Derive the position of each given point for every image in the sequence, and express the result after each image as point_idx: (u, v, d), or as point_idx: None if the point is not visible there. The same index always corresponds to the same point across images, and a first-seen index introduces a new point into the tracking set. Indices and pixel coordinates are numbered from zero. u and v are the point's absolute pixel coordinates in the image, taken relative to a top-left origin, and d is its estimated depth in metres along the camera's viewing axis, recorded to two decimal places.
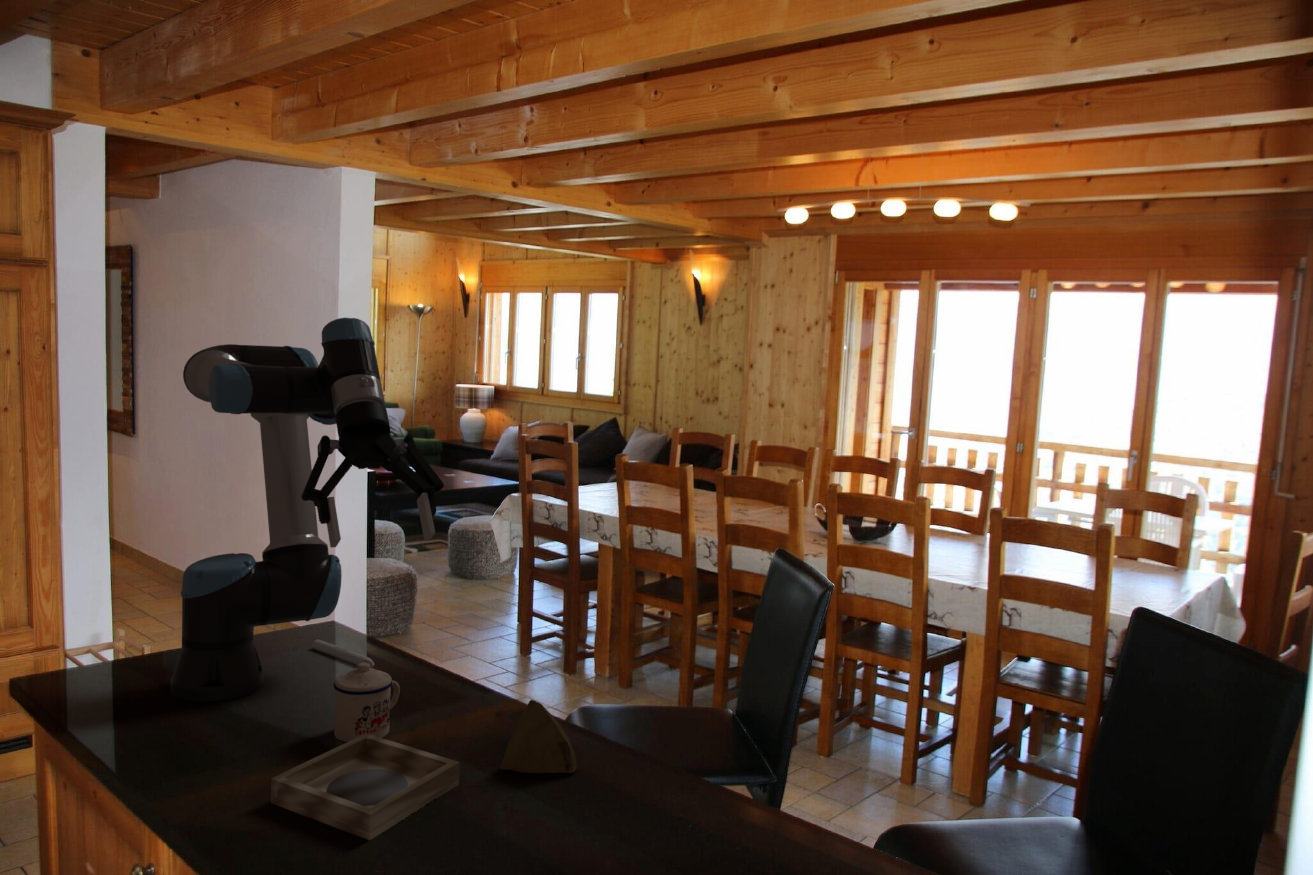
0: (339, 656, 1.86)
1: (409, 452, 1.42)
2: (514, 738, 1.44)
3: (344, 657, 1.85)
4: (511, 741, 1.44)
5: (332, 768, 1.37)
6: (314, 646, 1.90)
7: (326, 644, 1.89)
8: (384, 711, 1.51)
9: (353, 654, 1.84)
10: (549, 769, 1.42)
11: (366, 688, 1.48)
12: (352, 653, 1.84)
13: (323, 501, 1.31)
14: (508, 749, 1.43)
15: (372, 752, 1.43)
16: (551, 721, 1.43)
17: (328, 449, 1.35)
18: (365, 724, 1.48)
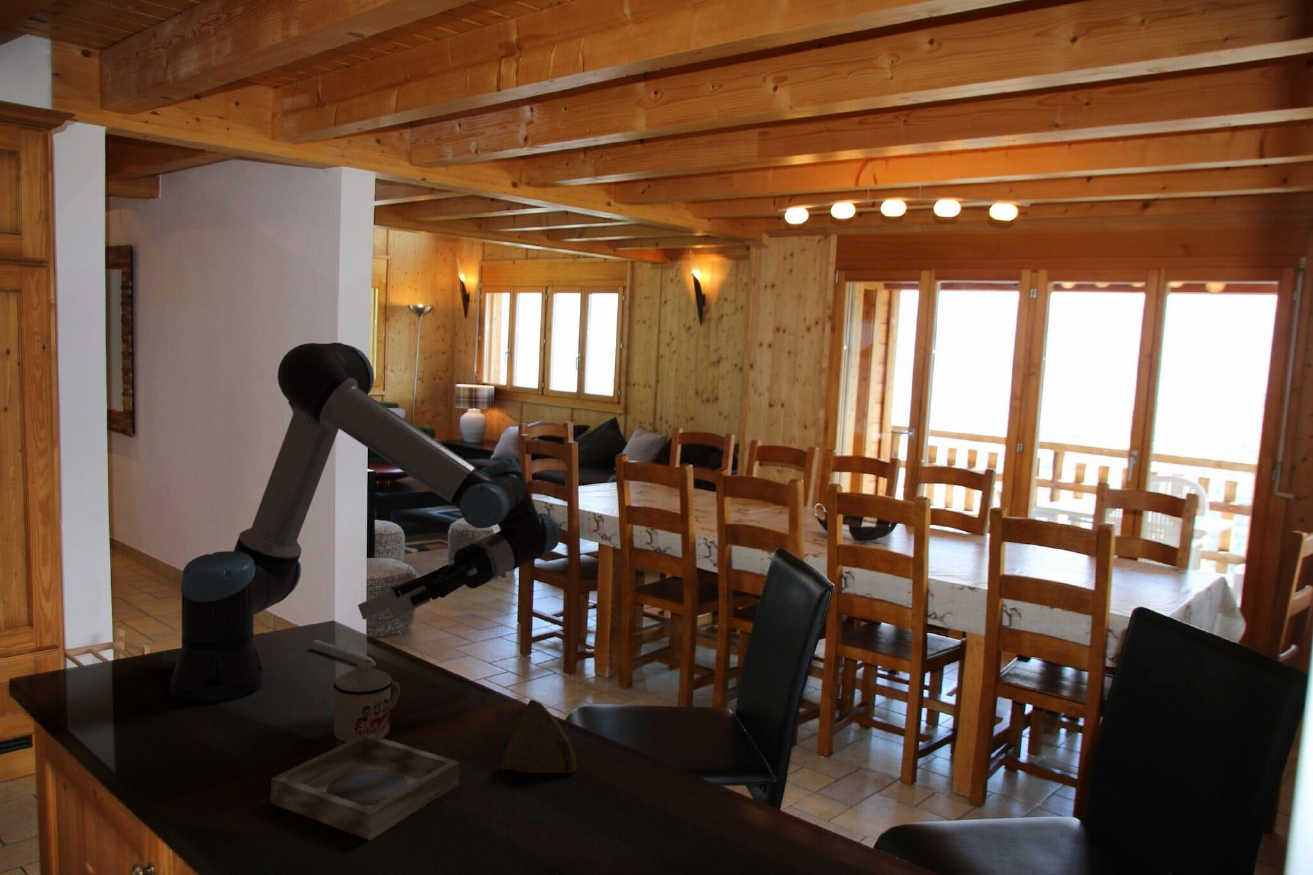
0: (339, 656, 1.86)
1: None
2: (514, 738, 1.44)
3: (344, 657, 1.85)
4: (511, 741, 1.44)
5: (332, 768, 1.37)
6: (313, 646, 1.90)
7: (325, 644, 1.89)
8: (384, 711, 1.51)
9: (354, 654, 1.84)
10: (549, 769, 1.42)
11: (366, 688, 1.48)
12: (352, 653, 1.84)
13: None
14: (508, 749, 1.43)
15: (372, 752, 1.43)
16: (551, 721, 1.43)
17: None
18: (365, 724, 1.48)
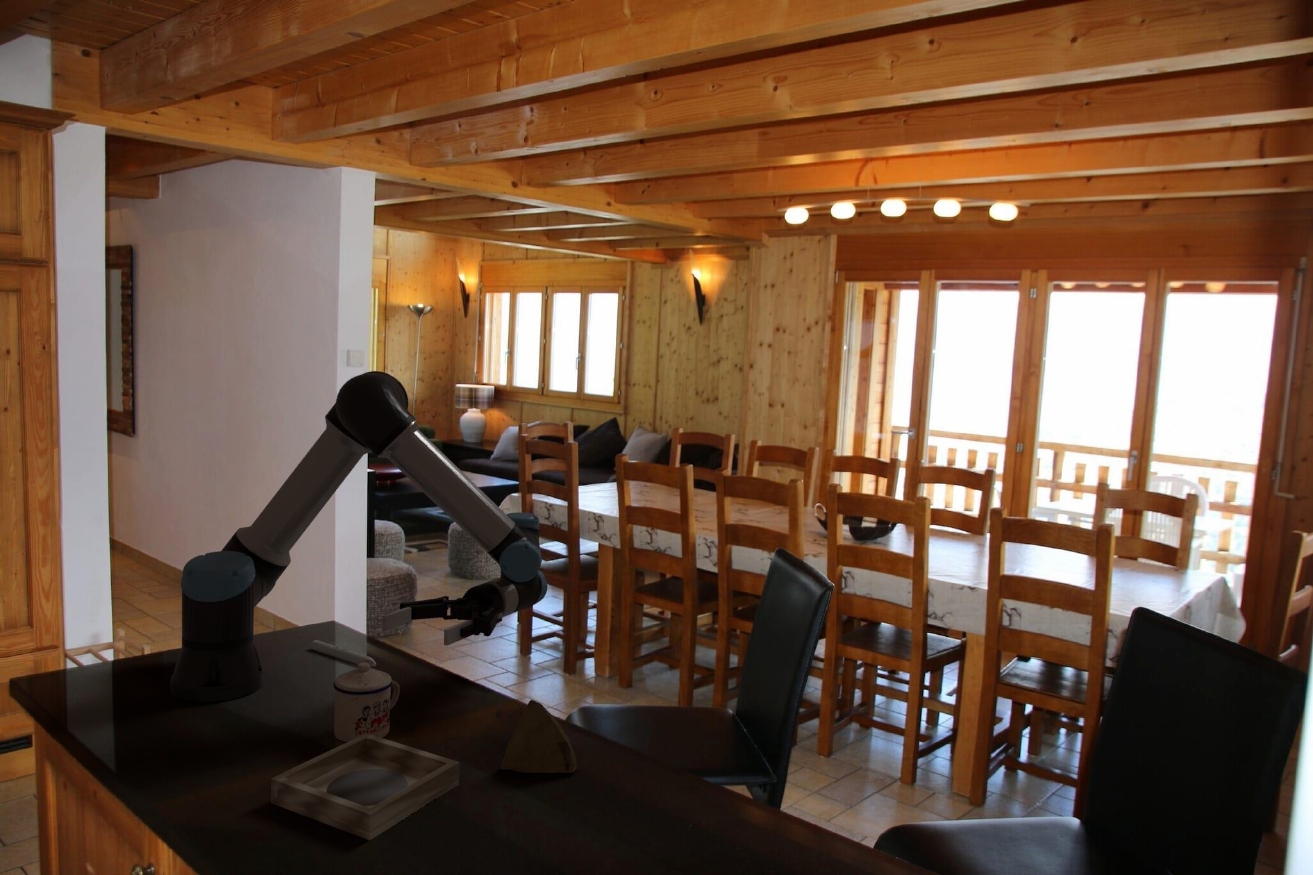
0: (339, 656, 1.86)
1: None
2: (514, 738, 1.44)
3: (344, 657, 1.85)
4: (511, 741, 1.44)
5: (332, 768, 1.37)
6: (312, 647, 1.90)
7: (325, 644, 1.89)
8: (384, 711, 1.51)
9: (354, 654, 1.84)
10: (549, 769, 1.42)
11: (366, 688, 1.48)
12: (353, 653, 1.84)
13: None
14: (508, 749, 1.43)
15: (372, 752, 1.43)
16: (551, 721, 1.43)
17: None
18: (365, 724, 1.48)
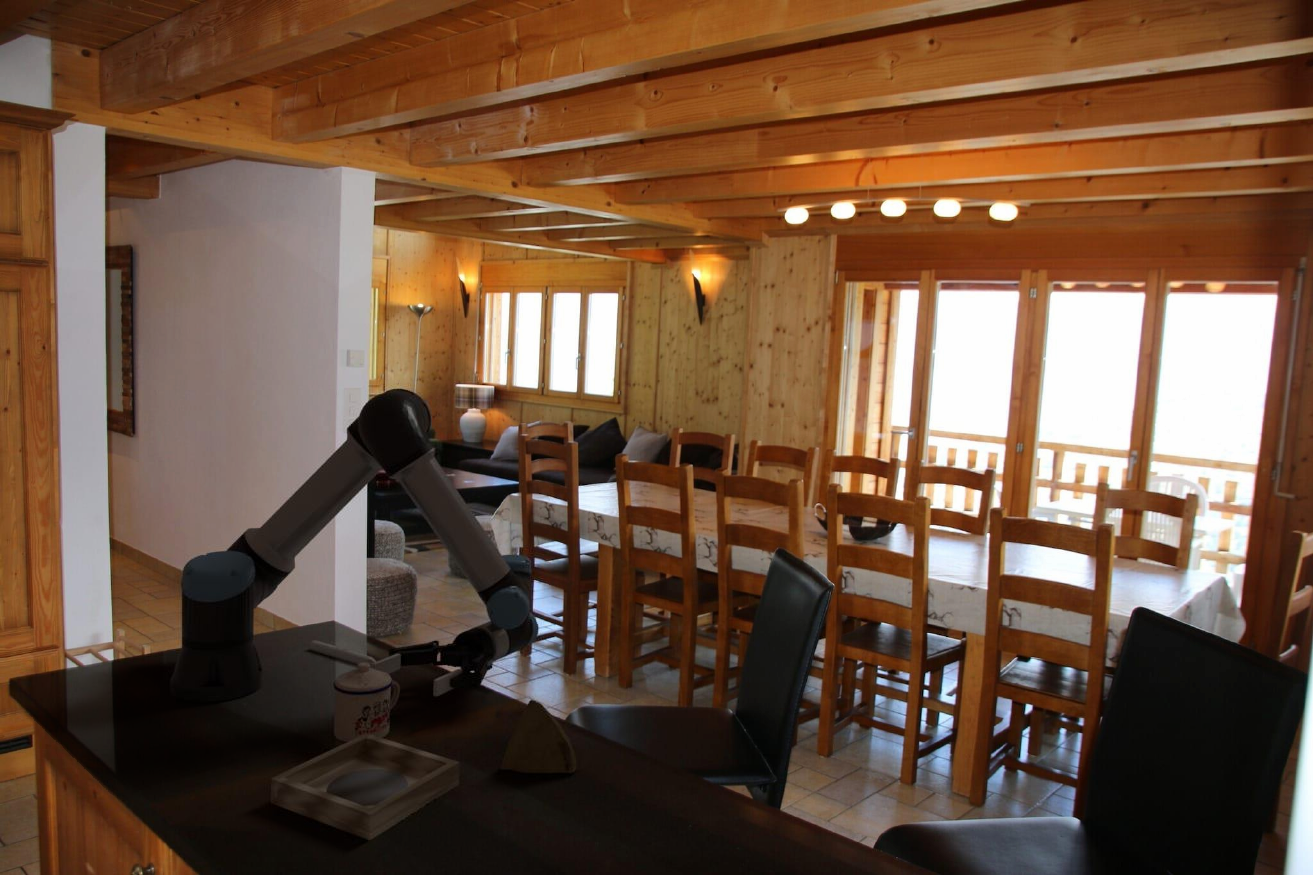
0: (339, 656, 1.86)
1: None
2: (514, 738, 1.44)
3: (345, 657, 1.85)
4: (511, 741, 1.44)
5: (332, 768, 1.37)
6: (311, 647, 1.89)
7: (324, 645, 1.88)
8: (384, 711, 1.51)
9: (354, 654, 1.84)
10: (549, 769, 1.42)
11: (366, 688, 1.48)
12: (353, 653, 1.85)
13: None
14: (508, 749, 1.43)
15: (372, 752, 1.43)
16: (551, 721, 1.43)
17: None
18: (365, 724, 1.48)
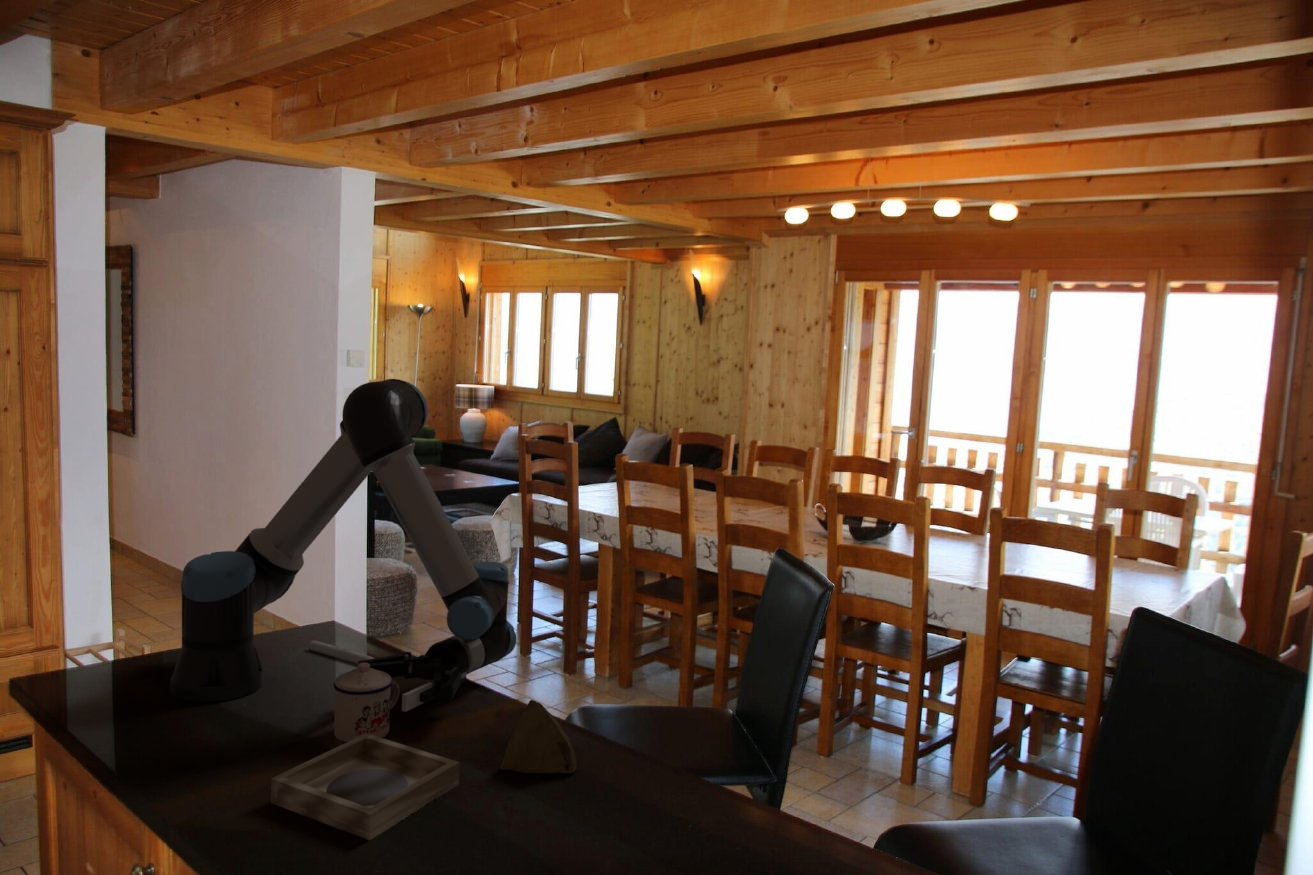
0: (339, 656, 1.86)
1: None
2: (514, 738, 1.44)
3: (345, 657, 1.85)
4: (511, 741, 1.44)
5: (332, 768, 1.37)
6: (311, 647, 1.89)
7: (324, 645, 1.88)
8: (384, 711, 1.51)
9: (354, 654, 1.84)
10: (549, 769, 1.42)
11: (366, 688, 1.48)
12: (353, 653, 1.85)
13: None
14: (508, 749, 1.43)
15: (372, 752, 1.43)
16: (551, 721, 1.43)
17: None
18: (365, 724, 1.48)
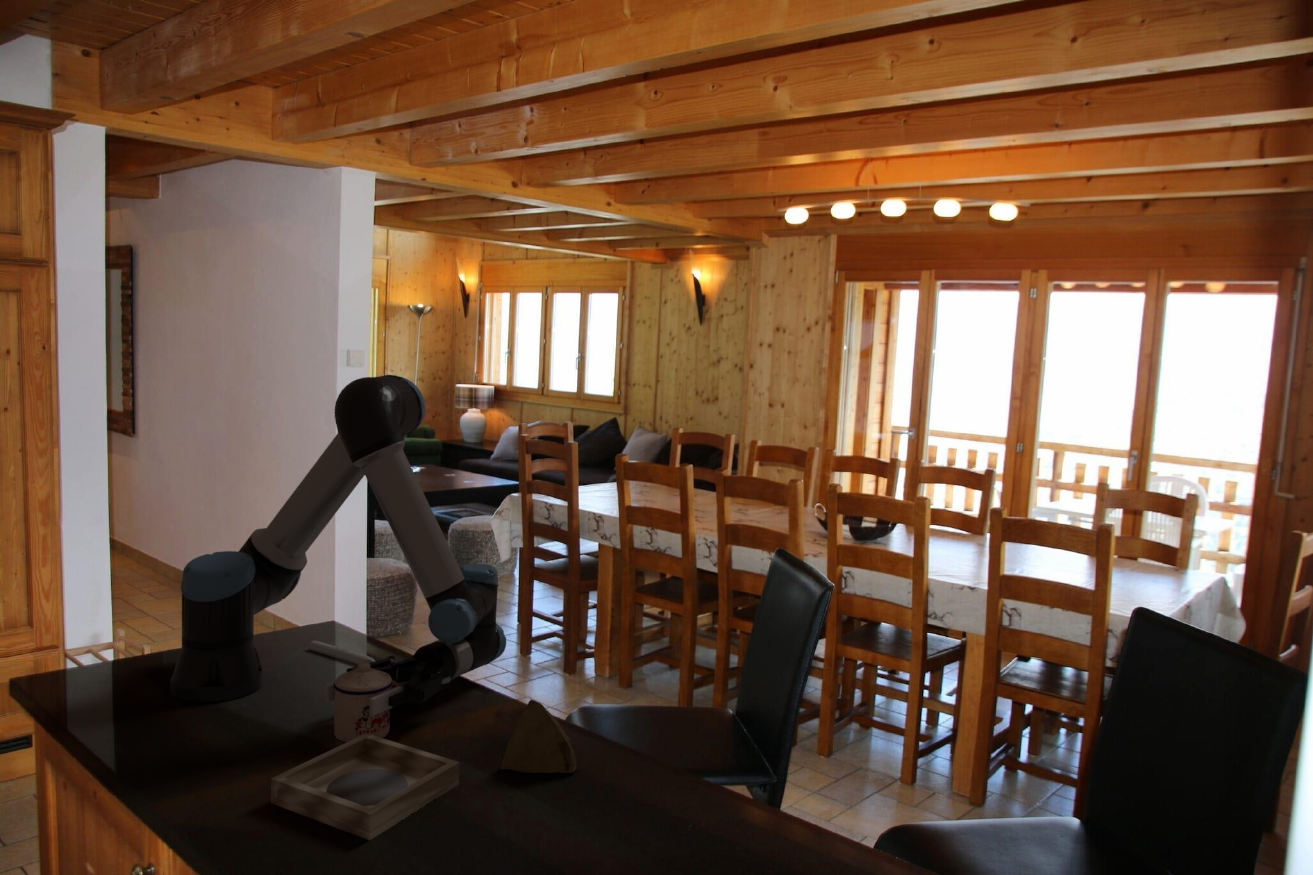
0: (339, 656, 1.85)
1: None
2: (514, 738, 1.44)
3: (344, 657, 1.85)
4: (511, 741, 1.44)
5: (332, 768, 1.37)
6: (311, 647, 1.89)
7: (324, 645, 1.88)
8: (384, 711, 1.50)
9: (354, 654, 1.84)
10: (549, 769, 1.42)
11: (366, 688, 1.48)
12: (353, 653, 1.84)
13: None
14: (508, 749, 1.43)
15: (372, 752, 1.43)
16: (551, 721, 1.43)
17: None
18: (366, 724, 1.48)
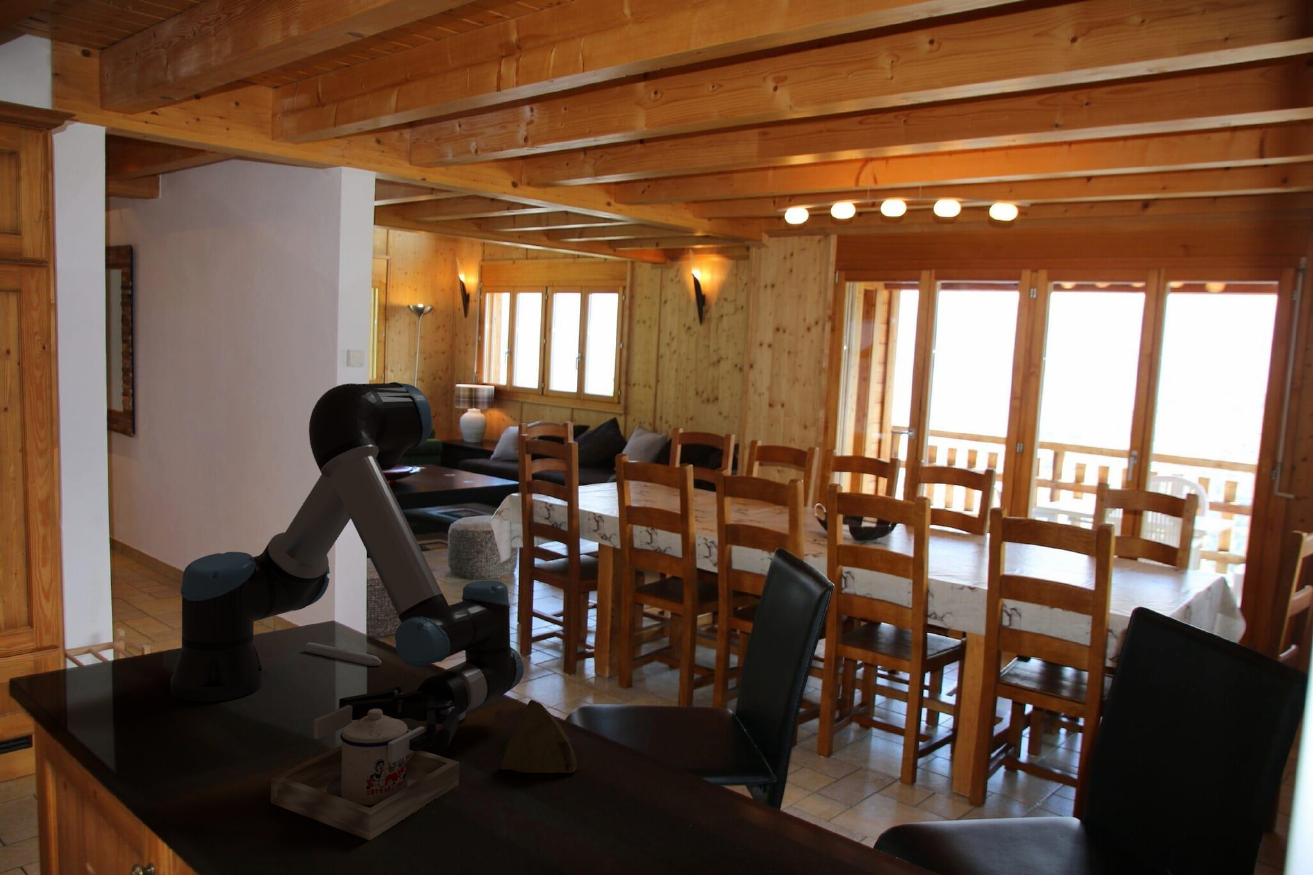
0: (340, 657, 1.85)
1: None
2: (514, 738, 1.44)
3: (346, 657, 1.85)
4: (511, 741, 1.44)
5: (332, 768, 1.37)
6: (307, 649, 1.88)
7: (321, 646, 1.88)
8: (400, 765, 1.29)
9: (356, 653, 1.85)
10: (549, 769, 1.42)
11: (379, 739, 1.26)
12: (355, 652, 1.85)
13: None
14: (508, 749, 1.43)
15: None
16: (551, 721, 1.43)
17: None
18: (378, 782, 1.27)
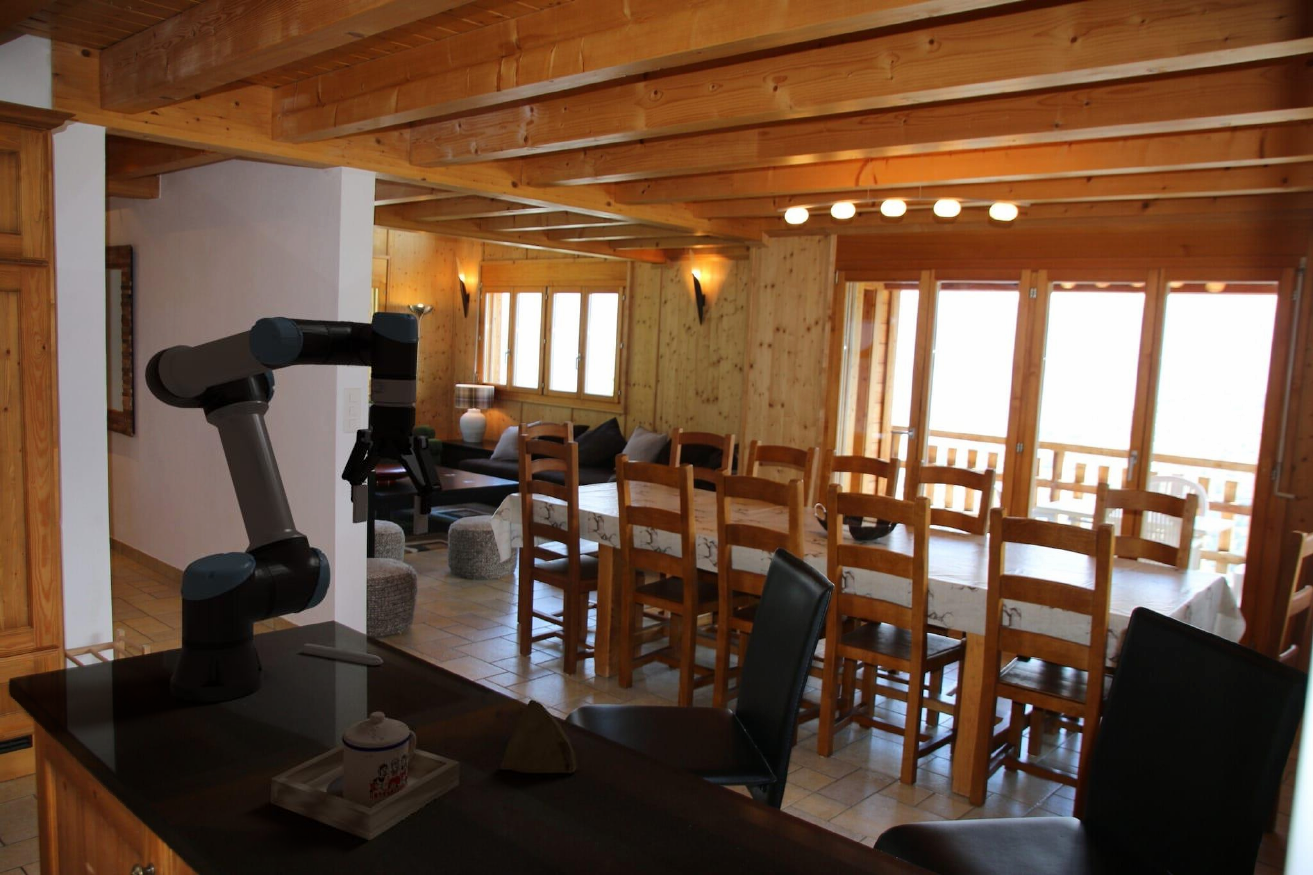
0: (339, 657, 1.85)
1: None
2: (514, 738, 1.44)
3: (346, 657, 1.85)
4: (511, 741, 1.44)
5: (332, 768, 1.37)
6: (305, 650, 1.87)
7: (320, 647, 1.87)
8: (403, 768, 1.29)
9: (357, 653, 1.85)
10: (549, 769, 1.42)
11: (383, 743, 1.26)
12: (355, 652, 1.85)
13: None
14: (508, 749, 1.43)
15: None
16: (551, 721, 1.43)
17: (359, 442, 1.61)
18: (382, 785, 1.27)
